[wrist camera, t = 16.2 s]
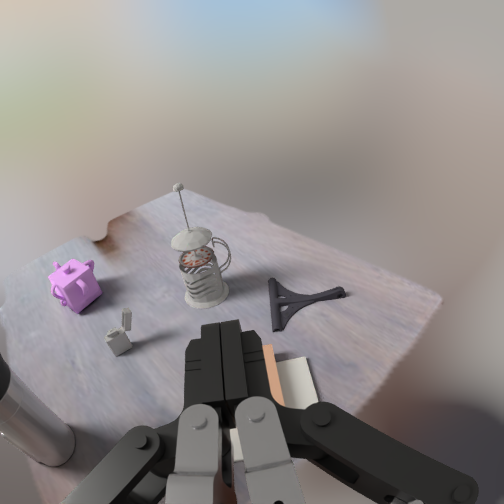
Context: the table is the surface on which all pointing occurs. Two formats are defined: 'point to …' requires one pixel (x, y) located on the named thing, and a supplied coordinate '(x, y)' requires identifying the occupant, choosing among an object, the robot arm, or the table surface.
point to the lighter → (120, 335)
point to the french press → (200, 265)
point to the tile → (273, 374)
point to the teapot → (75, 284)
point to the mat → (287, 392)
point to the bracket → (294, 301)
